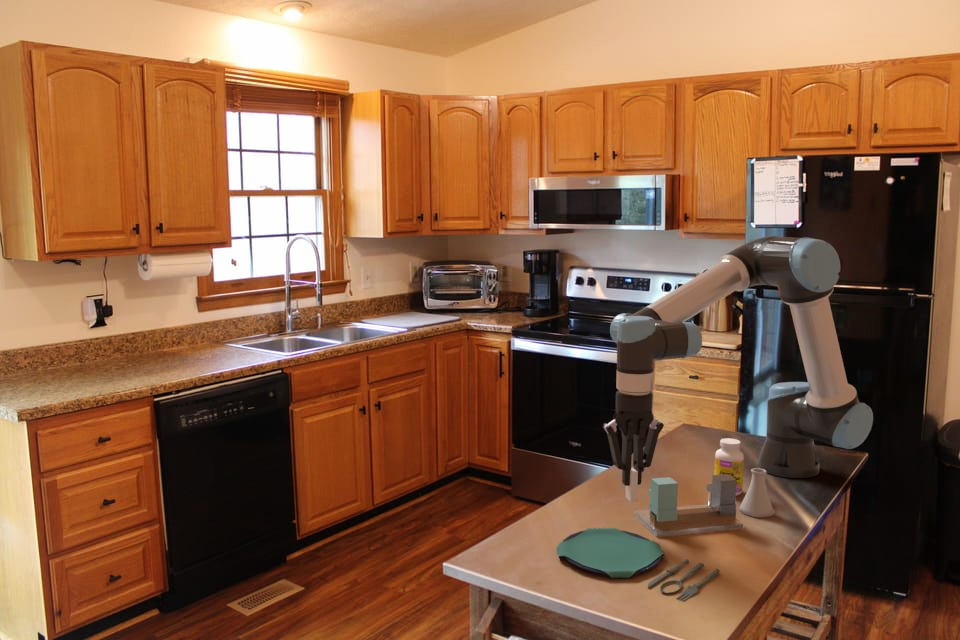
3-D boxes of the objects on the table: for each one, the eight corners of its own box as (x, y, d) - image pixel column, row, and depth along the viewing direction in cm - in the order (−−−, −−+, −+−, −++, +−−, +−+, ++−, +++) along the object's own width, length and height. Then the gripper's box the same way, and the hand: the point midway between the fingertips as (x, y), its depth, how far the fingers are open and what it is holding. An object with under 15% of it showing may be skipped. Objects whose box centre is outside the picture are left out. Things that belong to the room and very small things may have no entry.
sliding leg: (660, 510, 181) (661, 470, 179) (677, 525, 172) (678, 483, 171) (641, 512, 180) (642, 471, 178) (657, 527, 171) (659, 485, 170)
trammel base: (715, 508, 186) (717, 464, 184) (743, 529, 174) (745, 481, 173) (634, 515, 182) (635, 470, 180) (656, 537, 170) (658, 489, 169)
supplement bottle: (713, 495, 194) (716, 444, 192) (712, 486, 200) (715, 436, 198) (743, 498, 192) (745, 446, 190) (741, 488, 199) (743, 438, 197)
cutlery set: (597, 528, 175) (598, 518, 175) (727, 574, 155) (728, 563, 155) (539, 559, 161) (539, 548, 160) (674, 614, 141) (674, 601, 140)
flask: (733, 509, 186) (735, 467, 184) (758, 504, 188) (761, 463, 187) (754, 520, 179) (756, 477, 178) (780, 516, 182) (783, 473, 180)
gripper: (656, 385, 173) (652, 490, 177) (598, 388, 170) (595, 495, 174) (671, 393, 166) (667, 503, 169) (611, 396, 163) (608, 508, 167)
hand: (631, 499), depth 172 cm, fingers closed
